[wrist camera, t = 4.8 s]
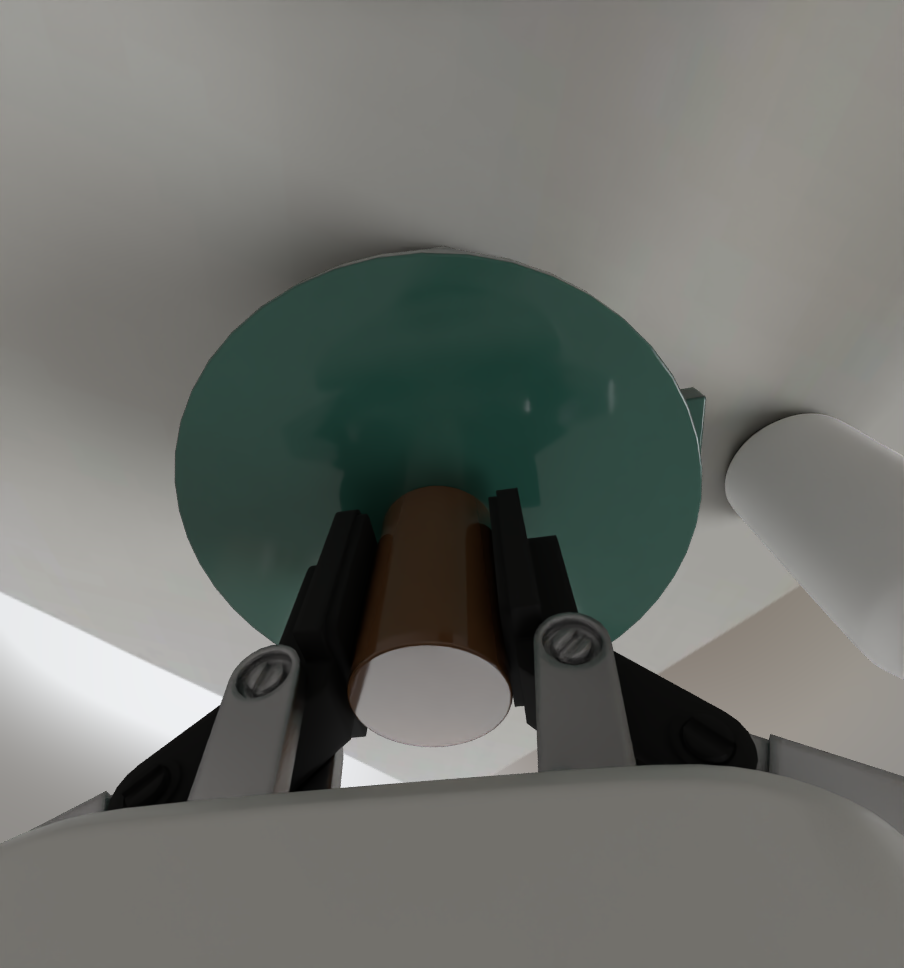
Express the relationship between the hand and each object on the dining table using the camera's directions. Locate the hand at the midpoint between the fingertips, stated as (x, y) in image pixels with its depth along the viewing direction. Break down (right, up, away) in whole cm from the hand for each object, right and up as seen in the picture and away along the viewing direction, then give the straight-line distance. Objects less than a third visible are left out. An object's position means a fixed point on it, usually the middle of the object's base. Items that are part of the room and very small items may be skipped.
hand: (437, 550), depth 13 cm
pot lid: (0, +1, +1) cm, 1 cm away
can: (+18, +3, +14) cm, 22 cm away
